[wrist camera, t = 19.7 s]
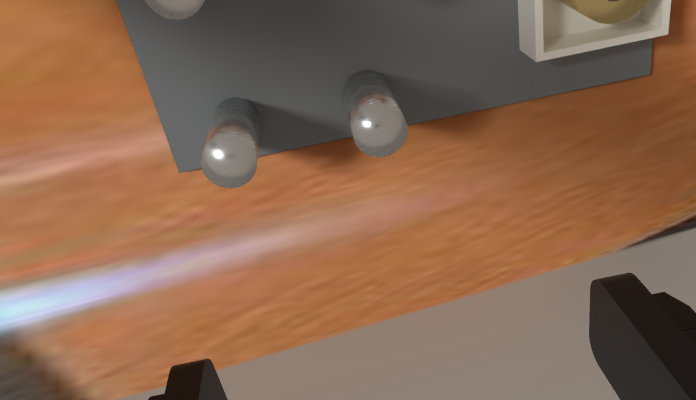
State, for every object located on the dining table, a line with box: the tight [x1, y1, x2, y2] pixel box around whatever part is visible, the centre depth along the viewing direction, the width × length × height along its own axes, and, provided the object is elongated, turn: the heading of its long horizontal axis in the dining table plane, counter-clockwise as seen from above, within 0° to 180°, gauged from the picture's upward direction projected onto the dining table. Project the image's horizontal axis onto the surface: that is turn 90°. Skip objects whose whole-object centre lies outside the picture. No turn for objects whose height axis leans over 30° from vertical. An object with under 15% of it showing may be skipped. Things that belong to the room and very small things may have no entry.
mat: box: [116, 0, 653, 173], centre depth 38 cm, size 16×34×1 cm, turn 100°
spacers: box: [145, 0, 408, 188], centre depth 35 cm, size 13×12×7 cm
